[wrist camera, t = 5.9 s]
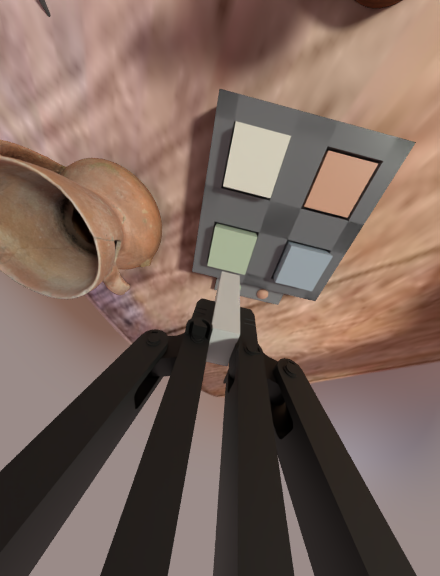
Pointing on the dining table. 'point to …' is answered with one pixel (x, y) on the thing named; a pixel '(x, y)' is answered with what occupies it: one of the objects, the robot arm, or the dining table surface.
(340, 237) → the keypad
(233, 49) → the dining table surface
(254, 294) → the plaque
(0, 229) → the ceramic jug
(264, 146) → the cream key
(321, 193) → the terracotta key
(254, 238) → the sage key
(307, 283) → the slate key
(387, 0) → the music box
